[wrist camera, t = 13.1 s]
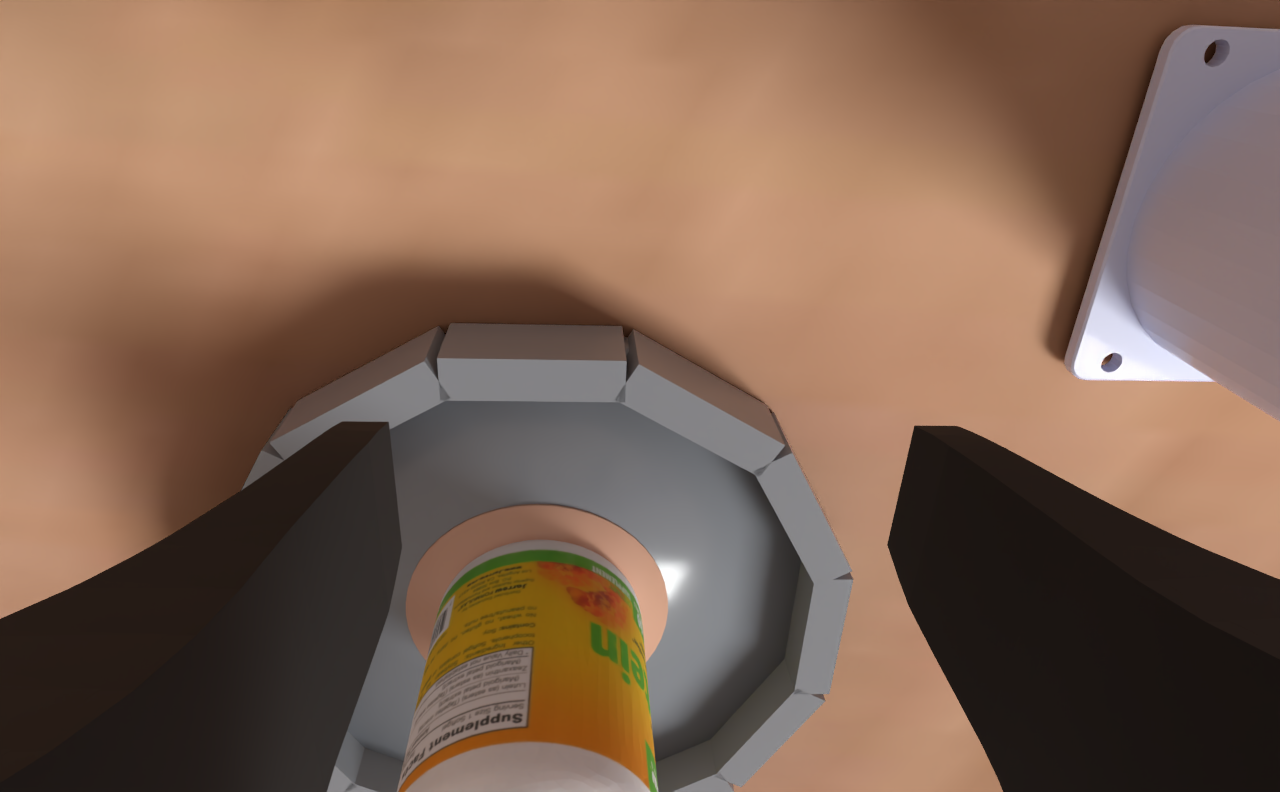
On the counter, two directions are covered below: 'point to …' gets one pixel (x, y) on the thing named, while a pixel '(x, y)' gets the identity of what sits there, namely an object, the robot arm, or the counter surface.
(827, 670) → the round tray
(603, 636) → the supplement bottle
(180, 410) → the counter surface
